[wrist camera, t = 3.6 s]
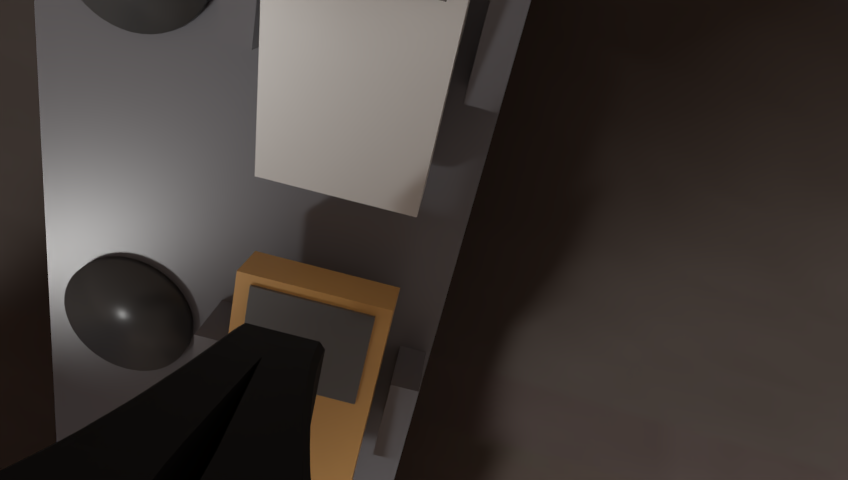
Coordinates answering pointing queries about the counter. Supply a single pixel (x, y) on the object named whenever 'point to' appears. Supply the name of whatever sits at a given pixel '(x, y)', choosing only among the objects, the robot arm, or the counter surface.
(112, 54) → the power strip
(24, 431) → the counter surface
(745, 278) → the counter surface
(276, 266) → the rocker middle
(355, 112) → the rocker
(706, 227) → the counter surface
